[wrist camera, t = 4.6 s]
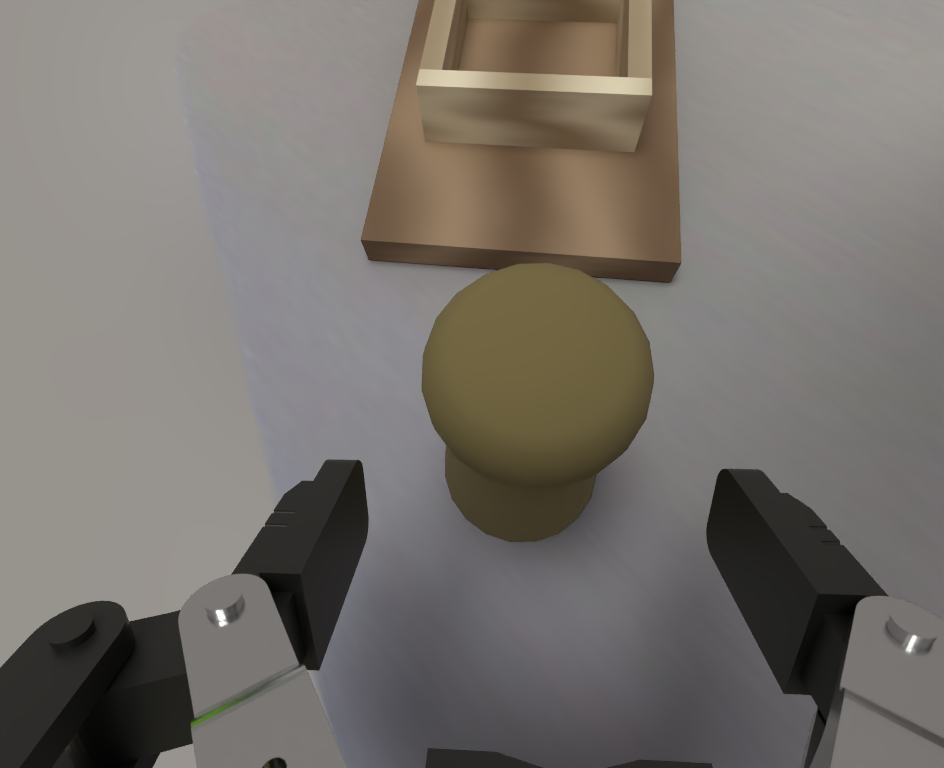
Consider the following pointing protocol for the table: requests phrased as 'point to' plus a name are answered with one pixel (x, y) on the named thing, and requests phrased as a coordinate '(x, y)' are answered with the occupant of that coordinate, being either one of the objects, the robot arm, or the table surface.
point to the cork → (534, 394)
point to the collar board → (533, 139)
